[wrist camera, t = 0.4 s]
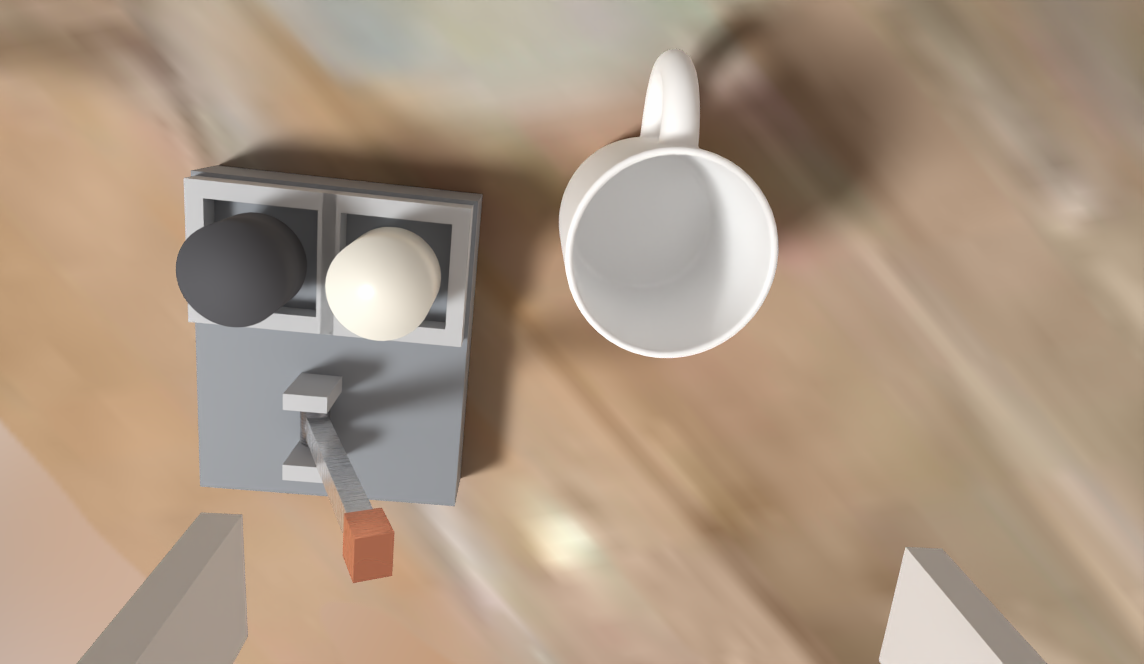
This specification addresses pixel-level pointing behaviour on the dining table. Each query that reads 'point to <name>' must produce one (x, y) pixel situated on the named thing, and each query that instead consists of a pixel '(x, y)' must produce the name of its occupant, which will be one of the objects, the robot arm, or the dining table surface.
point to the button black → (241, 269)
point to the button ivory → (383, 283)
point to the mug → (667, 230)
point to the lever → (349, 502)
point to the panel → (337, 345)
